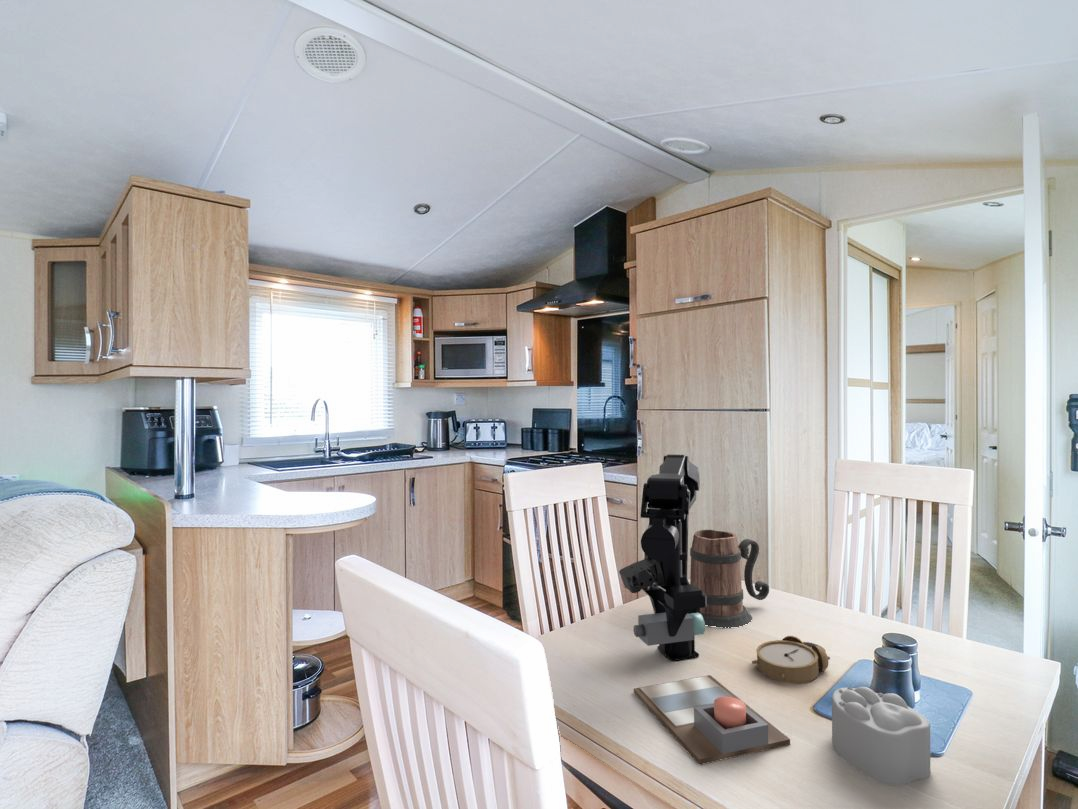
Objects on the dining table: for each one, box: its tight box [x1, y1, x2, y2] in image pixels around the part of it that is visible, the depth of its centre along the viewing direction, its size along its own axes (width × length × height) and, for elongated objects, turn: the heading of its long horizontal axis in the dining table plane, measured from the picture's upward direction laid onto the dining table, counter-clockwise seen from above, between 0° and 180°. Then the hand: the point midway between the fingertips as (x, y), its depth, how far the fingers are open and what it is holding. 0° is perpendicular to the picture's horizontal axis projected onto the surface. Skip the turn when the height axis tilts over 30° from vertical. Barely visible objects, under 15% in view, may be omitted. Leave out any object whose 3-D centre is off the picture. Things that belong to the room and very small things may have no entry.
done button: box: [714, 697, 746, 729], centre depth 93 cm, size 5×5×3 cm
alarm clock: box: [751, 635, 831, 684], centre depth 117 cm, size 11×5×15 cm
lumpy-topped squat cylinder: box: [831, 686, 931, 787], centre depth 88 cm, size 10×13×9 cm
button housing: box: [694, 703, 768, 754], centre depth 93 cm, size 8×8×3 cm
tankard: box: [689, 529, 770, 629], centre depth 146 cm, size 24×17×20 cm
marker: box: [633, 612, 706, 647], centre depth 108 cm, size 13×4×4 cm, turn 104°
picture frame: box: [633, 674, 791, 765], centre depth 100 cm, size 16×22×1 cm
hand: (666, 631), depth 108 cm, fingers closed on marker, 4 cm apart
